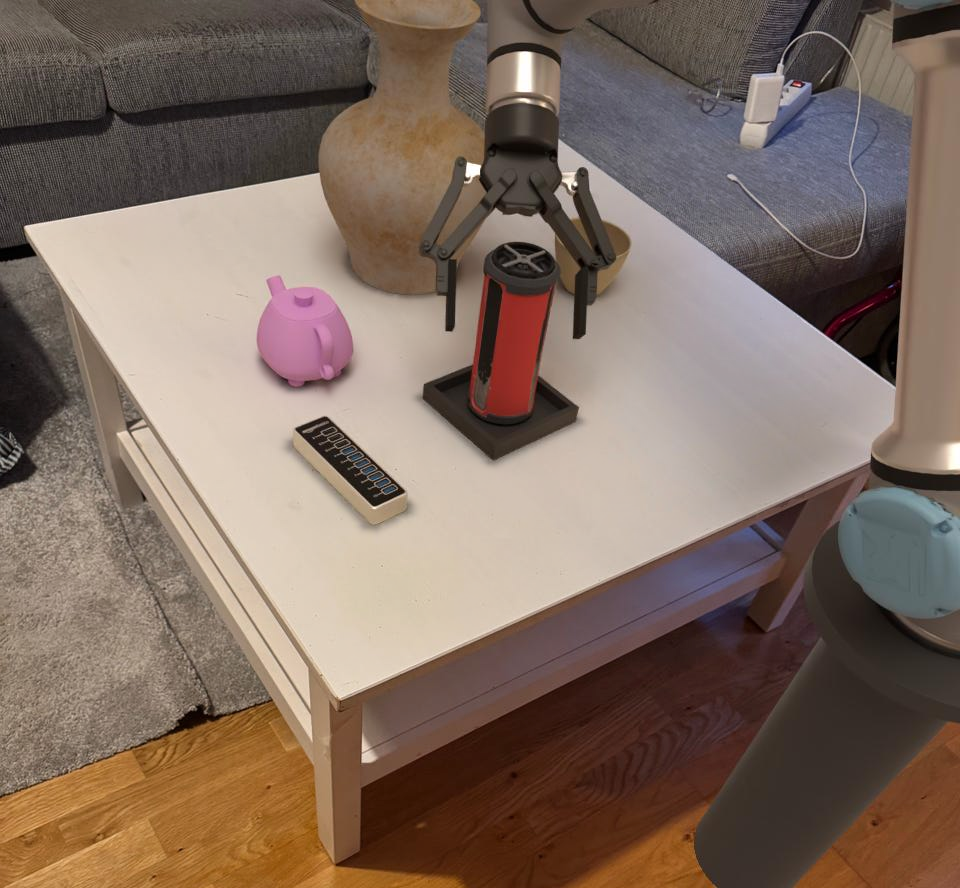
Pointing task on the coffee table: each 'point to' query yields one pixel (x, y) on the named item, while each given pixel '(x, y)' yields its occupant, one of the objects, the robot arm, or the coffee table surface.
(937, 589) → the robot arm
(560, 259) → the flower pot
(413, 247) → the vase
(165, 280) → the coffee table surface
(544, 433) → the dock pad
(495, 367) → the speaker
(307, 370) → the teapot
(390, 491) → the multiport hub
